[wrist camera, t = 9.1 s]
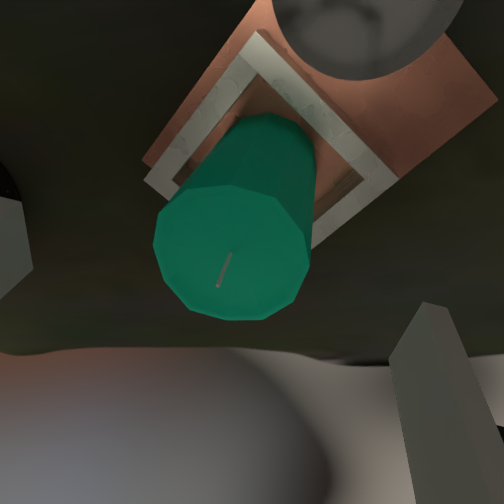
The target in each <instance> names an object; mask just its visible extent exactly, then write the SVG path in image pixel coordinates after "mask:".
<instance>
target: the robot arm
mask: <svg viewBox="0 0 504 504" xmlns="http://www.w3.org/2000/svg"><path fill="white" fill-rule="evenodd" d="M32 270H33V265H32V259H31V253H30V247H29V242H28V236H27V230H26V224H25V218H24V213H23V207H22V202H20V201H16V200H12V199H8V198H4V197H0V299H1V298H2V297H3V296H5V295H6V294H7V293H8V292H9V291H10V290H11V289H12V288H13V287H14V286H15V285H17V284H18V283H19V282H20V281H21V280H22V279H23V278H24V277H25V276H26V275H28V274H29V273H30V272H31V271H32ZM389 364H390V369H391V374H392V379H393V384H394V390H395V395H396V400H397V405H398V411H399V415H400V421H401V426H402V431H403V437H404V441H405V447H406V452H407V457H408V463H409V468H410V473H411V477H412V483H413V488H414V494H415V499H416V504H504V427H502V426H498V425H496V424H495V421H494V419H493V416H492V414H491V412H490V409H489V407H488V404H487V402H486V400H485V397H484V395H483V393H482V390H481V388H480V385H479V383H478V381H477V378H476V376H475V373H474V371H473V369H472V367H471V364H470V361H469V359H468V357H467V354H466V352H465V350H464V347H463V345H462V342H461V340H460V338H459V335H458V333H457V330H456V328H455V326H454V323H453V321H452V318H451V316H450V314H449V311H448V309H447V308H446V307H442V306H438V305H434V304H430V303H426V302H423V303H422V304H421V306H420V308H419V309H418V311H417V313H416V314H415V316H414V318H413V319H412V321H411V323H410V324H409V326H408V328H407V329H406V331H405V333H404V334H403V336H402V338H401V339H400V341H399V343H398V344H397V346H396V348H395V349H394V351H393V353H392V354H391V356H390V357H389Z"/></svg>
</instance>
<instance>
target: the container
mask: <svg viewBox="0 0 504 504" xmlns="http://www.w3.org/2000/svg"><path fill="white" fill-rule="evenodd" d="M0 197H4V198H8V199H12V200H16V201H19V198H18V194H17V192H16V189H15V187H14V185H13V183H12V181H11V179H10V178H9V176H8V174H7V173H6V172H5V170H4V169H3V167H2V166H1V165H0Z"/></svg>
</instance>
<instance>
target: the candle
mask: <svg viewBox="0 0 504 504" xmlns="http://www.w3.org/2000/svg"><path fill="white" fill-rule="evenodd" d="M316 171H317V169H316V161H315V152H314V144H313V143H312V141H311V140H310V139H309V138H308V136H307V135H306V134H305V132H304V131H303V130H302V129H301V127H300V126H299V125H298V123H297V122H295V121H292V120H289V119H287V118H284V117H282V116H279V115H277V114H274V113H272V112H269V113H263V114H257V115H252V116H246V117H243V118H242V119H241V120H240V121H239V122H238V123H236V124H235V125H234V126H233V127H232V128H231V129H230V130H229V131H228V132H226V133H225V134H224V135H223V137H222V138H221V139H220V140H219V141H218V143H217V144H216V145H215V146H214V147H213V149H212V150H211V151H210V152H209V153H208V155H207V156H206V157H205V158H204V159H203V161H202V162H201V163H200V164H199V165H198V167H197V168H196V169H195V170H194V171H193V173H192V174H191V175H190V176H189V177H188V179H187V180H186V181H185V182H184V183H183V185H182V186H181V187H180V188H179V189H178V191H177V192H176V193H175V194H174V195H173V197H172V198H171V199H170V200H169V201H168V203H167V204H166V205H165V206H164V207H163V209H162V210H161V211H160V212H159V213H158V218H157V224H156V230H155V235H154V241H153V248H154V251H155V254H156V257H157V261H158V264H159V267H160V270H161V273H162V276H163V279H164V281H165V282H166V284H167V285H168V286H169V287H170V288H171V289H172V290H173V292H174V293H175V294H176V295H177V296H178V297H179V299H180V300H181V301H182V302H183V303H184V304H185V305H186V307H187V308H188V309H189V310H191V311H195V312H198V313H202V314H206V315H209V316H213V317H216V318H220V319H223V320H263V319H265V318H267V317H268V316H270V315H272V314H274V313H275V312H277V311H279V310H280V309H282V308H284V307H285V306H287V305H289V304H291V303H292V302H294V299H295V297H296V295H297V293H298V291H299V289H300V286H301V284H302V282H303V280H304V278H305V276H306V274H307V271H308V269H309V267H310V256H311V242H312V228H313V214H314V199H315V185H316Z"/></svg>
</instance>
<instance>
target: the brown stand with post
mask: <svg viewBox="0 0 504 504" xmlns="http://www.w3.org/2000/svg"><path fill="white" fill-rule="evenodd" d="M463 1H464V0H256V1H255V3H254V4H253V5H252V7H251V8H250V10H249V11H248V12H247V14H246V15H245V17H244V18H243V19H242V21H241V22H240V24H239V25H238V26H237V28H236V29H235V31H234V32H233V33H232V35H231V36H230V37H229V39H228V40H227V42H226V43H225V44H224V46H223V47H222V49H221V50H220V51H219V53H218V54H217V56H216V57H215V58H214V60H213V61H212V62H211V64H210V65H209V67H208V68H207V69H206V71H205V72H204V74H203V75H202V76H201V78H200V79H199V81H198V82H197V83H196V85H195V86H194V88H193V89H192V90H191V92H190V93H189V94H188V96H187V97H186V99H185V100H184V101H183V103H182V104H181V106H180V107H179V108H178V110H177V111H176V113H175V114H174V115H173V117H172V118H171V120H170V121H169V122H168V124H167V125H166V126H165V128H164V129H163V131H162V132H161V133H160V135H159V136H158V138H157V139H156V140H155V142H154V143H153V145H152V146H151V147H150V149H149V150H148V152H147V153H146V154H145V156H144V157H143V158H142V161H143V162H144V163H146V164H147V165H148V166H149V167H150V168H152V169H151V171H150V172H149V173H148V175H147V176H146V177H145V179H144V181H145V182H146V183H148V184H149V185H150V186H151V187H152V188H154V189H155V190H156V191H157V192H159V193H160V194H161V195H162V196H163V197H165V198H166V199H167V200H168V201H169V200H170V199H171V198H172V197H173V195H174V194H175V193H176V192H177V191H178V189H179V188H180V187H181V186H182V185H183V183H184V182H185V181H186V180H187V179H188V177H189V176H190V175H191V174H192V173H193V171H194V170H195V169H196V168H197V167H198V165H199V164H200V163H201V162H202V161H203V159H204V158H205V157H206V156H207V155H208V153H209V152H210V151H211V150H212V149H213V147H214V146H215V145H216V144H217V143H218V141H219V140H220V139H221V138H222V137H223V135H224V134H225V133H226V132H228V131H229V130H230V129H231V128H232V127H233V126H234V125H235V124H236V123H238V122H239V121H240V120H241V119H242V118H243V117H246V116H252V115H257V114H263V113H269V112H272V113H274V114H277V115H279V116H282V117H284V118H287V119H289V120H292V121H295V122H297V123H298V125H299V126H300V127H301V129H302V130H303V131H304V132H305V134H306V135H307V136H308V138H309V139H310V140H311V141H312V143H313V144H314V152H315V161H316V169H317V171H316V185H315V199H314V214H313V228H312V242H311V250H312V249H313V248H314V247H315V246H317V245H318V244H319V243H320V242H322V241H323V240H324V239H325V238H327V237H328V236H329V235H330V234H332V233H333V232H334V231H335V230H337V229H338V228H339V227H340V226H342V225H343V224H344V223H345V222H347V221H348V220H349V219H350V218H352V217H353V216H354V215H355V214H357V213H358V212H359V211H360V210H362V209H363V208H364V207H365V206H367V205H368V204H369V203H370V202H372V201H373V200H374V199H375V198H377V197H378V196H379V195H380V194H382V193H383V192H384V191H386V190H387V189H388V188H389V187H391V186H392V185H393V184H394V183H396V182H397V181H398V180H399V179H400V178H402V177H403V176H404V175H405V174H407V173H408V172H409V171H410V170H412V169H413V168H414V167H415V166H417V165H418V164H419V163H420V162H422V161H423V160H424V159H425V158H427V157H428V156H429V155H430V154H432V153H433V152H434V151H436V150H437V149H438V148H439V147H441V146H442V145H443V144H444V143H446V142H447V141H448V140H449V139H451V138H452V137H453V136H454V135H456V134H457V133H458V132H459V131H461V130H462V129H463V128H464V127H466V126H467V125H468V124H469V123H471V122H472V121H473V120H474V119H476V118H477V117H478V116H479V115H481V114H482V113H483V112H484V111H486V110H487V109H488V108H489V107H491V106H492V105H493V104H494V103H496V102H497V101H498V98H497V97H496V96H495V95H494V93H493V92H492V91H491V90H490V89H489V87H488V86H487V85H486V84H485V82H484V81H483V80H482V79H481V77H480V76H479V75H478V74H477V72H476V71H475V70H474V69H473V67H472V66H471V65H470V64H469V62H468V61H467V60H466V59H465V57H464V56H463V55H462V54H461V53H460V51H459V50H458V49H457V48H456V46H455V45H454V44H453V43H452V41H451V40H450V39H449V38H448V36H447V35H446V34H445V33H444V32H445V30H446V29H447V28H448V26H449V25H450V24H451V22H452V20H453V19H454V17H455V16H456V14H457V12H458V11H459V9H460V7H461V5H462V3H463Z"/></svg>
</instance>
